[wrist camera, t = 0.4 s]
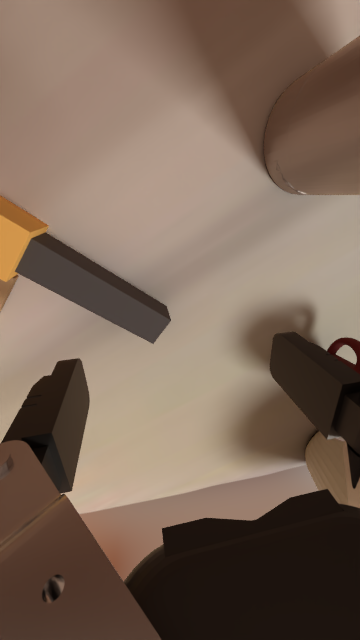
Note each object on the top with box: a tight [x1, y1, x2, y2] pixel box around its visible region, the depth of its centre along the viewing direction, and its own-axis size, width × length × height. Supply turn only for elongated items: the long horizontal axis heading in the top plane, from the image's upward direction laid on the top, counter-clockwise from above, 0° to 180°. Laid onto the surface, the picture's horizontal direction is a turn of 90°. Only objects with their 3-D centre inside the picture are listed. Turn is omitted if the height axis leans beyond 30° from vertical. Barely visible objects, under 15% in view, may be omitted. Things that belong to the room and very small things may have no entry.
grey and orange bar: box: [0, 196, 171, 344], centre depth 23 cm, size 18×5×5 cm, turn 53°
